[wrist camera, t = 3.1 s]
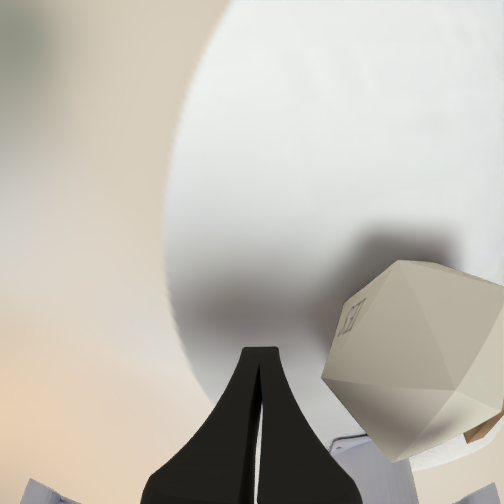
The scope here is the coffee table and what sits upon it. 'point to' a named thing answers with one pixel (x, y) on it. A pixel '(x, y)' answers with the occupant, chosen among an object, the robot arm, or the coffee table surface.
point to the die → (419, 356)
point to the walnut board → (483, 427)
